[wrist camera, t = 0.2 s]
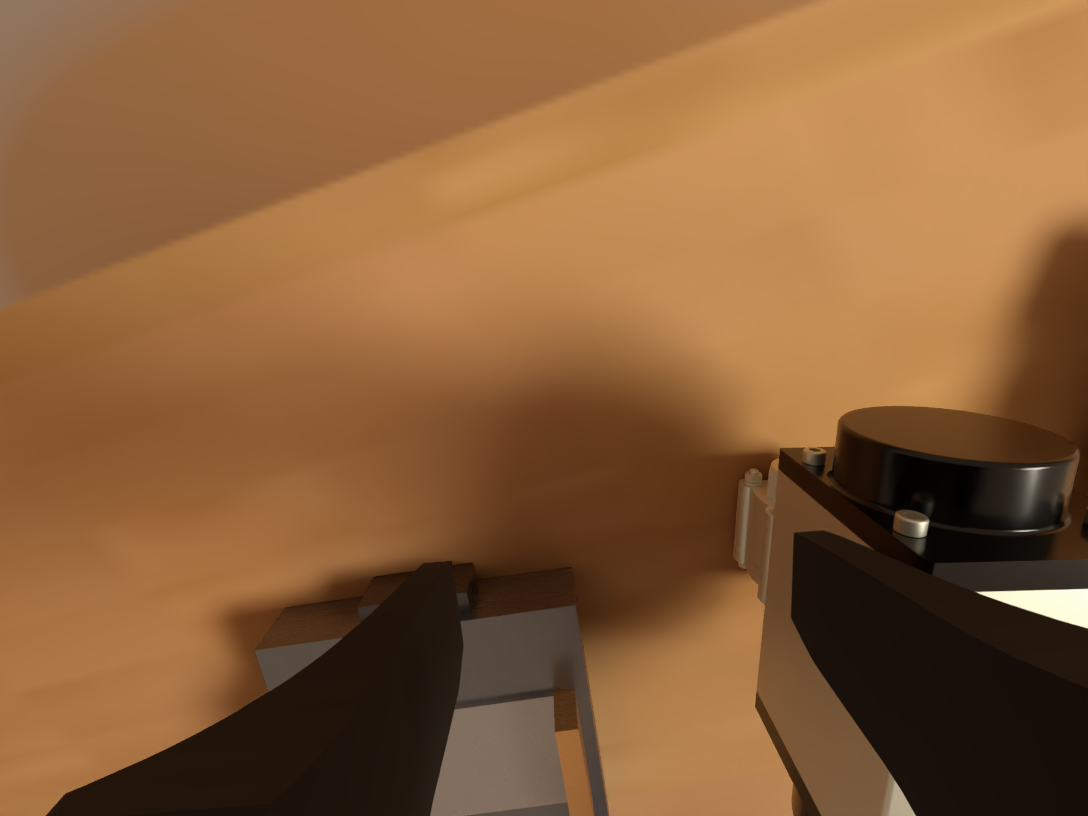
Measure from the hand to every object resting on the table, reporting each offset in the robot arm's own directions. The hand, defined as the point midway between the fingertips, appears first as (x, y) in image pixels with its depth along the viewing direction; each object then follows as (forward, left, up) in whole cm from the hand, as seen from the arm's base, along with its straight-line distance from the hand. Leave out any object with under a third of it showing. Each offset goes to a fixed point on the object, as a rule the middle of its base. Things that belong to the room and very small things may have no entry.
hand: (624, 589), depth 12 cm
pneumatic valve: (-4, -7, -10) cm, 13 cm away
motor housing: (-11, +7, -9) cm, 16 cm away
